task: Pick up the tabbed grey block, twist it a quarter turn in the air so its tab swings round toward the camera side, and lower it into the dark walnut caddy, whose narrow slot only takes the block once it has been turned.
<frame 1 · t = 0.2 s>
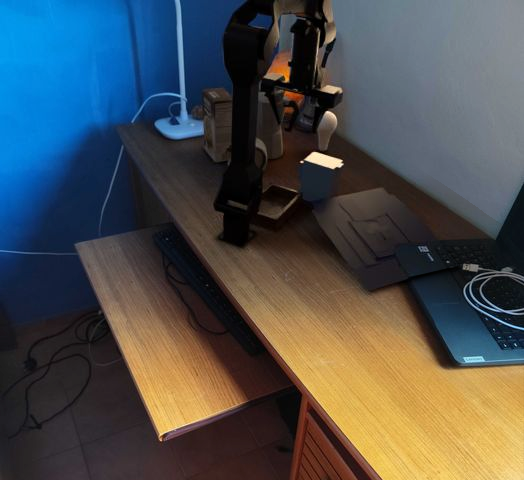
hand: (296, 128, 112), 15 cm above the table, tool pointing down, fingers open, 9 cm apart
coffee box: (219, 155, 133), on the table
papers: (376, 242, 107), on the table
coffeepot: (271, 154, 135), on the table
ceramic mug: (247, 169, 128), on the table
tabbed grey block: (317, 198, 119), on the table
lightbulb: (322, 151, 138), on the table
caddy: (272, 211, 114), on the table
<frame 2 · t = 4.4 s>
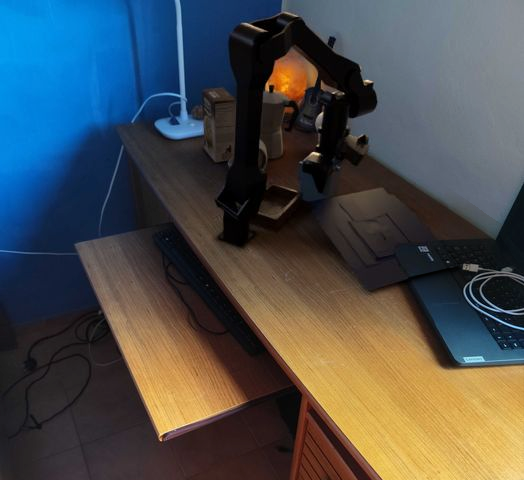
hand: (325, 187, 115), 4 cm above the table, tool pointing down, fingers closed on tabbed grey block, 6 cm apart
tabbed grey block: (317, 198, 119), on the table, touching gripper
everything else where it was.
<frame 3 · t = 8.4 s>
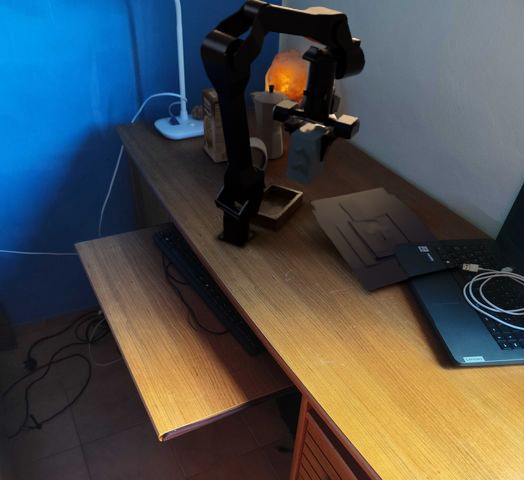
hand: (310, 157, 107), 12 cm above the table, tool pointing down, fingers closed on tabbed grey block, 6 cm apart
tabbed grey block: (304, 175, 109), point 9 cm above the table, touching gripper
everything else where it was.
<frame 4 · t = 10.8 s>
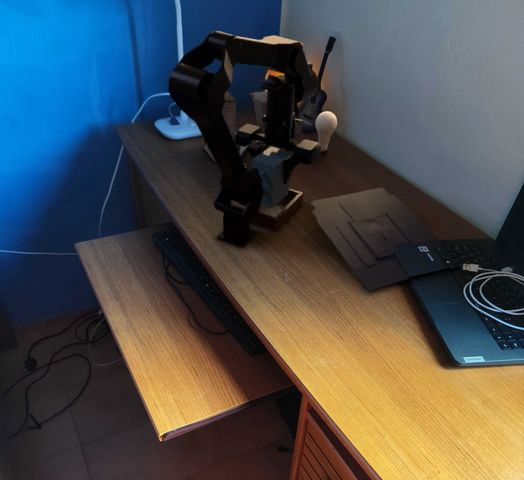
hand: (274, 180, 108), 8 cm above the table, tool pointing down, fingers closed on tabbed grey block, 6 cm apart
tabbed grey block: (269, 197, 109), point 4 cm above the table, touching gripper
everything else where it was.
when the fingers open (4 cm above the table, at t = 12.4 s): tabbed grey block stays where it is, resting on caddy.
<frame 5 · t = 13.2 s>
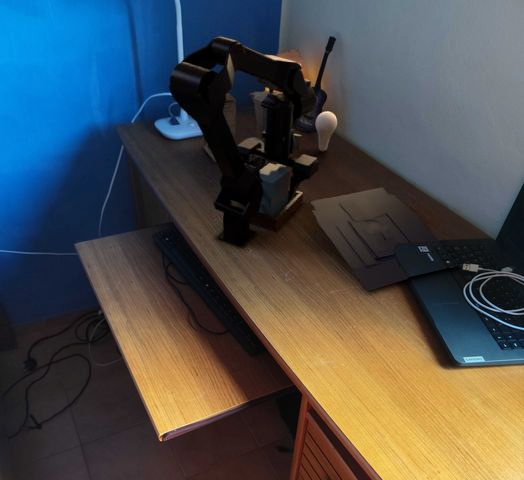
hand: (273, 193, 110), 5 cm above the table, tool pointing down, fingers open, 9 cm apart
tabbed grey block: (268, 212, 112), resting on caddy
everything else where it was.
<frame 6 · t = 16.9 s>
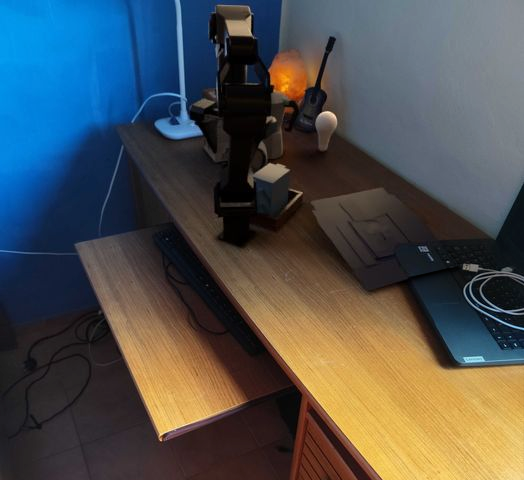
hand: (232, 158, 105), 12 cm above the table, tool pointing down, fingers open, 9 cm apart
nothing on the table moved.
at the end: tabbed grey block 1.7 cm off-centre in the caddy, point 0.5 cm above the caddy's base; tabbed grey block tilted 0°; the gripper is holding nothing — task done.
